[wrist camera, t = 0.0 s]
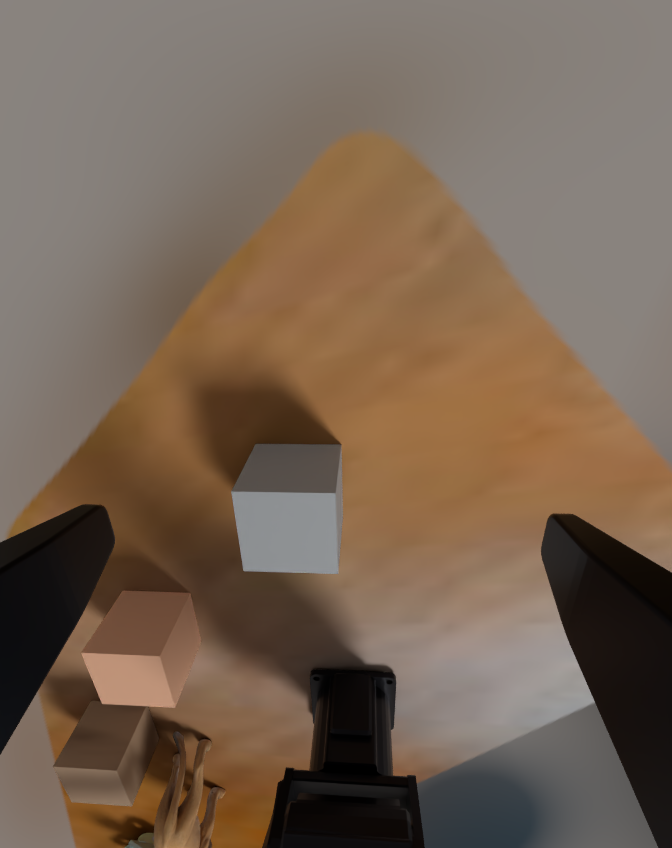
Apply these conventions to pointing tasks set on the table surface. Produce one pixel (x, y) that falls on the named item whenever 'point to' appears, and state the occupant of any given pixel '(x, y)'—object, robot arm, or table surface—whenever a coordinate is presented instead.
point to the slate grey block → (290, 508)
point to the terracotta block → (144, 649)
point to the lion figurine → (186, 804)
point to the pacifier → (142, 841)
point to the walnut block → (107, 754)
